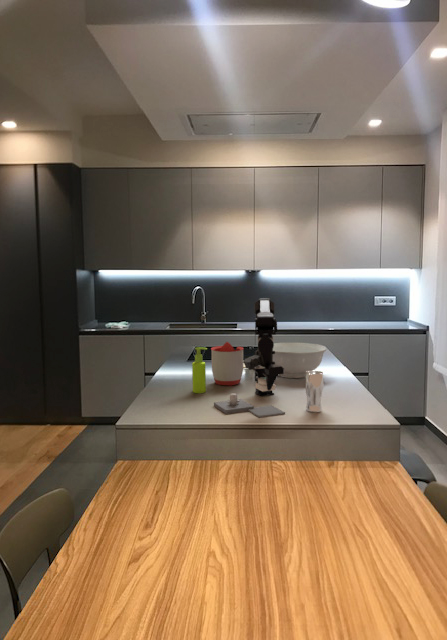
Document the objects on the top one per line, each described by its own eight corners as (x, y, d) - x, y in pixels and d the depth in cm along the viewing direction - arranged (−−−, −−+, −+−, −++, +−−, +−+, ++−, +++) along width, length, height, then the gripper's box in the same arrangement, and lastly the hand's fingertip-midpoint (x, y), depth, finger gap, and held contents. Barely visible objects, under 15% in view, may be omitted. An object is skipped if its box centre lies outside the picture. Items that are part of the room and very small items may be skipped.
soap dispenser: (206, 393, 224) (205, 348, 222) (191, 392, 226) (190, 348, 224) (209, 390, 230) (208, 346, 228) (194, 389, 231) (193, 346, 229)
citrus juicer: (250, 380, 249) (250, 339, 246) (236, 388, 233) (235, 345, 231) (221, 377, 255) (220, 338, 253) (205, 385, 239) (205, 343, 237)
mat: (271, 406, 203) (271, 405, 203) (285, 413, 193) (285, 412, 193) (246, 409, 199) (246, 408, 199) (259, 417, 189) (259, 416, 189)
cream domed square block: (255, 388, 196) (255, 377, 196) (268, 386, 199) (268, 375, 198) (262, 391, 191) (262, 380, 191) (275, 389, 193) (275, 378, 193)
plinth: (241, 402, 209) (240, 389, 209) (253, 410, 198) (253, 396, 198) (213, 405, 205) (213, 392, 204) (225, 413, 194) (225, 399, 193)
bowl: (307, 366, 279) (307, 340, 278) (337, 379, 249) (338, 349, 247) (252, 371, 270) (252, 343, 268) (277, 384, 239) (277, 354, 237)
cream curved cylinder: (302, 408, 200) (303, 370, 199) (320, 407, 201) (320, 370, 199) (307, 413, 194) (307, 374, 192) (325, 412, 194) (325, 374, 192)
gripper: (235, 346, 199) (236, 385, 200) (257, 354, 181) (257, 396, 183) (261, 344, 203) (261, 382, 205) (284, 351, 186) (284, 393, 188)
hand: (265, 388), depth 195 cm, fingers closed on cream domed square block, 6 cm apart
